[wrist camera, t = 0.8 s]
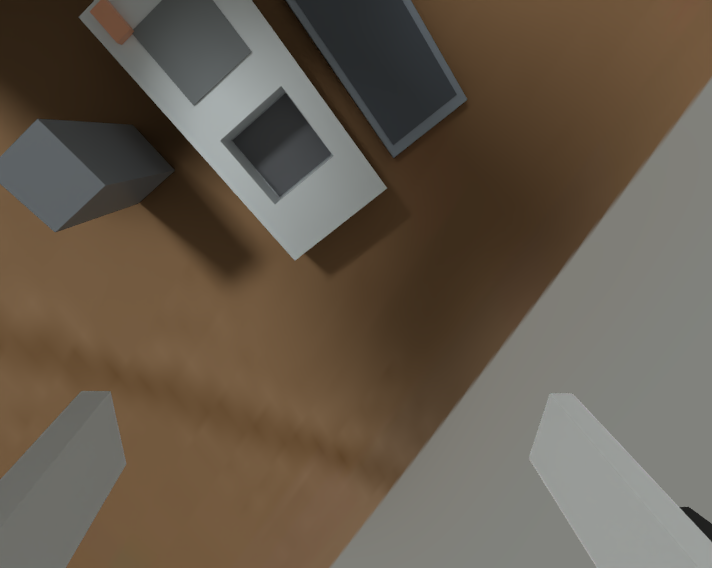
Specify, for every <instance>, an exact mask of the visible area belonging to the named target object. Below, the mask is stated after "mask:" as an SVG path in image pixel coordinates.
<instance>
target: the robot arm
mask: <svg viewBox="0 0 712 568" xmlns="http://www.w3.org/2000/svg"><path fill="white" fill-rule="evenodd" d="M529 460H530V461H531V463H532V464H533V466H534V468H535V469H536V471H537V472H538V474H539V476H540V477H541V479H542V481H543V482H544V484H545V485H546V487H547V489H548V490H549V492H550V493H551V495H552V497H553V498H554V500H555V502H556V503H557V505H558V506H559V508H560V510H561V511H562V513H563V514H564V516H565V518H566V519H567V521H568V522H569V524H570V526H571V527H572V529H573V530H574V532H575V534H576V535H577V537H578V538H579V540H580V542H581V543H582V545H583V547H584V548H585V550H586V551H587V553H588V555H589V556H590V558H591V559H592V561H593V563H594V564H595V566H596V567H597V568H712V524H711V523H710V522H709V521H707V520H706V519H704V518H703V517H702V516H700V515H699V514H698V513H696V512H695V511H693V510H692V509H691V508H689V507H678V505H677V504H676V503H675V502H674V501H673V500H672V499H671V498H670V497H669V496H668V495H667V494H666V493H665V492H664V491H663V489H662V488H661V487H660V486H659V485H658V484H657V483H656V482H655V481H654V480H653V479H652V478H651V477H650V476H649V474H648V473H647V472H646V471H645V470H644V469H643V468H642V467H641V466H640V465H639V464H638V463H637V462H636V461H635V460H634V459H633V457H632V456H631V455H630V454H629V453H628V452H627V451H626V450H625V449H624V448H623V447H622V446H621V445H620V444H619V442H618V441H617V440H616V439H615V438H614V437H613V436H612V435H611V434H610V433H609V432H608V431H607V430H606V429H605V428H604V427H603V425H602V424H601V423H600V422H599V421H598V420H597V419H596V418H595V417H594V416H593V415H592V414H591V413H590V412H589V410H588V409H587V408H586V407H585V406H584V405H583V404H582V403H581V402H580V401H579V400H578V399H577V398H576V397H575V395H573V393H550V394H549V397H548V400H547V404H546V407H545V410H544V413H543V416H542V419H541V422H540V425H539V428H538V431H537V434H536V437H535V440H534V443H533V446H532V450H531V453H530V455H529ZM125 465H126V460H125V456H124V451H123V447H122V442H121V437H120V433H119V428H118V424H117V419H116V415H115V410H114V405H113V401H112V396H111V392H110V391H81V392H80V393H79V394H78V395H77V396H76V398H75V399H74V400H73V401H72V402H71V403H70V404H69V405H68V406H67V407H66V408H65V410H64V411H63V412H62V413H61V414H60V415H59V416H58V417H57V418H56V419H55V420H54V422H53V423H52V424H51V425H50V426H49V427H48V428H47V429H46V430H45V431H44V433H43V434H42V435H41V436H40V437H39V438H38V439H37V440H36V441H35V442H34V443H33V445H32V446H31V447H30V448H29V449H28V450H27V451H26V452H25V453H24V454H23V455H22V457H21V458H20V459H19V460H18V461H17V462H16V463H15V464H14V465H13V466H12V468H11V469H10V470H9V471H8V472H7V473H6V474H5V475H4V476H3V477H2V478H1V480H0V568H66V566H67V565H68V563H69V561H70V559H71V558H72V556H73V554H74V553H75V551H76V549H77V547H78V546H79V544H80V542H81V541H82V539H83V537H84V535H85V534H86V532H87V530H88V529H89V527H90V525H91V523H92V522H93V520H94V518H95V517H96V515H97V513H98V511H99V510H100V508H101V506H102V505H103V503H104V501H105V499H106V498H107V496H108V494H109V493H110V491H111V489H112V487H113V486H114V484H115V482H116V481H117V479H118V477H119V475H120V474H121V472H122V470H123V469H124V467H125Z"/></svg>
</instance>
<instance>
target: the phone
mask: <svg viewBox="0 0 712 568" xmlns="http://www.w3.org/2000/svg"><path fill="white" fill-rule="evenodd" d="M285 1H286V2H287V4H288V5H289V7H290V8H291V9H292V11H293V12H294V14H295V15H296V17H297V18H298V20H299V21H300V23H301V24H302V26H303V27H304V28H305V30H306V31H307V33H308V34H309V36H310V37H311V39H312V40H313V42H314V43H315V45H316V46H317V47H318V49H319V50H320V52H321V53H322V55H323V56H324V58H325V59H326V61H327V62H328V64H329V65H330V66H331V68H332V69H333V71H334V72H335V74H336V75H337V77H338V78H339V80H340V81H341V83H342V84H343V85H344V87H345V88H346V90H347V91H348V93H349V94H350V96H351V97H352V99H353V100H354V102H355V103H356V105H357V106H358V107H359V109H360V110H361V112H362V113H363V115H364V116H365V118H366V119H367V121H368V122H369V124H370V125H371V126H372V128H373V129H374V131H375V132H376V134H377V135H378V137H379V138H380V140H381V141H382V143H383V144H384V145H385V147H386V148H387V150H388V151H389V153H390V154H391V156H392V157H393V158H394V157H395V156H397V155H398V154H399V153H400V152H402V151H403V150H404V149H406V148H407V147H408V146H409V145H411V144H412V143H413V142H414V141H416V140H417V139H418V138H419V137H421V136H422V135H423V134H425V133H426V132H427V131H428V130H430V129H431V128H432V127H433V126H435V125H436V124H437V123H439V122H440V121H441V120H442V119H444V118H445V117H446V116H447V115H449V114H450V113H451V112H452V111H454V110H455V109H456V108H458V107H459V106H460V105H461V104H463V103H464V102H465V101H466V100H467V98H466V96H465V94H464V93H463V91H462V89H461V87H460V86H459V84H458V82H457V80H456V79H455V77H454V75H453V73H452V72H451V70H450V68H449V66H448V65H447V63H446V61H445V59H444V58H443V56H442V54H441V52H440V51H439V49H438V47H437V45H436V44H435V42H434V40H433V38H432V37H431V35H430V33H429V31H428V30H427V28H426V26H425V24H424V23H423V21H422V19H421V17H420V16H419V14H418V12H417V10H416V9H415V7H414V5H413V3H412V2H411V0H285Z"/></svg>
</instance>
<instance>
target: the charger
mask: <svg viewBox="0 0 712 568" xmlns="http://www.w3.org/2000/svg"><path fill="white" fill-rule="evenodd" d="M174 171H175V170H174V169H173V168H172V167H171V166H170V165H169V163H168V162H167V161H166V160H165V159H164V158H163V157H162V156H161V155H160V154H159V153H158V152H157V151H156V150H155V148H154V147H153V146H152V145H151V144H150V143H149V142H148V141H147V140H146V139H145V138H144V137H143V136H142V134H141V133H140V132H139V131H138V130H137V129H136V128H135V127H134V126H133V125H128V124H112V123H97V122H81V121H66V120H50V119H37V120H36V121H35V122H34V123H33V124H32V125H31V126H30V127H29V128H28V129H27V130H26V131H25V132H24V133H23V134H22V135H21V136H20V137H19V138H18V139H17V140H16V141H15V142H14V143H13V144H12V145H11V146H10V147H9V148H8V149H7V150H6V152H5V153H4V154H3V155H2V156H1V157H0V184H1V185H2V186H3V187H4V188H6V189H7V190H8V191H9V192H10V193H11V194H12V195H14V196H15V197H16V198H17V199H18V200H19V201H20V202H21V203H23V204H24V205H25V206H26V207H27V208H28V209H29V210H30V211H32V212H33V213H34V214H35V215H36V216H37V217H38V218H40V219H41V220H42V221H43V222H44V223H45V224H46V225H47V226H49V227H50V228H51V229H52V230H53V231H54V232H58V231H61V230H64V229H66V228H69V227H72V226H75V225H78V224H81V223H84V222H87V221H89V220H92V219H95V218H98V217H101V216H104V215H107V214H110V213H112V212H115V211H118V210H121V209H124V208H127V207H130V206H133V205H135V204H138V203H139V202H141V201H142V200H143V199H144V198H145V197H146V196H147V195H148V194H149V193H151V192H152V191H153V190H154V189H155V188H156V187H157V186H158V185H159V184H160V183H162V182H163V181H164V180H165V179H166V178H167V177H168V176H169V175H170V174H172V173H173V172H174Z"/></svg>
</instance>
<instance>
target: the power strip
mask: <svg viewBox="0 0 712 568" xmlns="http://www.w3.org/2000/svg"><path fill="white" fill-rule="evenodd" d="M79 18H80V19H81V21H82V22H83V23H84V24H85V25H86V26H87V27H88V28H89V30H90V31H91V32H92V33H93V34H94V35H95V36H96V37H97V39H98V40H99V41H100V42H101V43H102V44H103V45H104V46H105V48H106V49H107V50H108V51H109V52H110V53H111V54H112V55H113V57H114V58H115V59H116V60H117V61H118V62H119V63H120V64H121V66H122V67H123V68H124V69H125V70H126V71H127V72H128V73H129V75H130V76H131V77H132V78H133V79H134V80H135V81H136V82H137V84H138V85H139V86H140V87H141V88H142V89H143V90H144V91H145V93H146V94H147V95H148V96H149V97H150V98H151V99H152V100H153V102H154V103H155V104H156V105H157V106H158V107H159V108H160V109H161V111H162V112H163V113H164V114H165V115H166V116H167V117H168V118H169V120H170V121H171V122H172V123H173V124H174V125H175V126H176V127H177V129H178V130H179V131H180V132H181V133H182V134H183V135H184V136H185V138H186V139H187V140H188V141H189V142H190V143H191V144H192V145H193V147H194V148H195V149H196V150H197V151H198V152H199V153H200V154H201V156H202V157H203V158H204V159H205V160H206V161H207V162H208V163H209V165H210V166H211V167H212V168H213V169H214V170H215V171H216V172H217V174H218V175H219V176H220V177H221V178H222V179H223V180H224V181H225V183H226V184H227V185H228V186H229V187H230V188H231V189H232V190H233V192H234V193H235V194H236V195H237V196H238V197H239V198H240V199H241V201H242V202H243V203H244V204H245V205H246V206H247V207H248V208H249V210H250V211H251V212H252V213H253V214H254V215H255V216H256V217H257V219H258V220H259V221H260V222H261V223H262V224H263V225H264V226H265V228H266V229H267V230H268V231H269V232H270V233H271V234H272V235H273V237H274V238H275V239H276V240H277V241H278V242H279V243H280V244H281V246H282V247H283V248H284V249H285V250H286V251H287V252H288V253H289V255H290V256H291V257H292V258H293V259H294V260H296V259H298V258H299V257H300V256H301V255H303V254H304V253H305V252H307V251H308V250H309V249H310V248H312V247H313V246H314V245H315V244H317V243H318V242H319V241H321V240H322V239H323V238H324V237H326V236H327V235H328V234H329V233H331V232H332V231H333V230H335V229H336V228H337V227H338V226H340V225H341V224H342V223H344V222H345V221H346V220H347V219H349V218H350V217H351V216H352V215H354V214H355V213H356V212H358V211H359V210H360V209H361V208H363V207H364V206H365V205H367V204H368V203H369V202H370V201H372V200H373V199H374V198H375V197H377V196H378V195H379V194H381V193H382V192H383V191H384V190H386V189H387V187H386V186H385V185H384V183H383V182H382V180H381V179H380V178H379V176H378V175H377V173H376V172H375V171H374V169H373V168H372V167H371V165H370V164H369V162H368V161H367V160H366V158H365V157H364V155H363V154H362V153H361V151H360V150H359V148H358V147H357V146H356V144H355V143H354V142H353V140H352V139H351V137H350V136H349V135H348V133H347V132H346V130H345V129H344V128H343V126H342V125H341V123H340V122H339V121H338V119H337V118H336V117H335V115H334V114H333V112H332V111H331V110H330V108H329V107H328V105H327V104H326V103H325V101H324V100H323V98H322V97H321V96H320V94H319V93H318V92H317V90H316V89H315V87H314V86H313V85H312V83H311V82H310V80H309V79H308V78H307V76H306V75H305V73H304V72H303V71H302V69H301V68H300V67H299V65H298V64H297V62H296V61H295V60H294V58H293V57H292V55H291V54H290V53H289V51H288V50H287V48H286V47H285V46H284V44H283V43H282V42H281V40H280V39H279V37H278V36H277V35H276V33H275V32H274V30H273V29H272V28H271V26H270V25H269V23H268V22H267V21H266V19H265V18H264V17H263V15H262V14H261V12H260V11H259V10H258V8H257V7H256V5H255V4H254V3H253V1H252V0H94V1H93V2H92V3H91V4H90V6H89V7H88V8H87V9H86V10H85V11H84V12H83V13H82V14H81V15H80V16H79Z"/></svg>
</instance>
